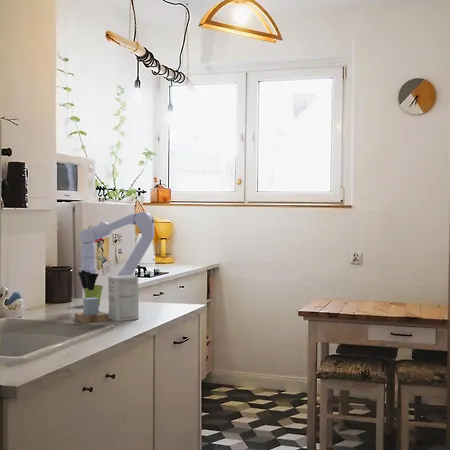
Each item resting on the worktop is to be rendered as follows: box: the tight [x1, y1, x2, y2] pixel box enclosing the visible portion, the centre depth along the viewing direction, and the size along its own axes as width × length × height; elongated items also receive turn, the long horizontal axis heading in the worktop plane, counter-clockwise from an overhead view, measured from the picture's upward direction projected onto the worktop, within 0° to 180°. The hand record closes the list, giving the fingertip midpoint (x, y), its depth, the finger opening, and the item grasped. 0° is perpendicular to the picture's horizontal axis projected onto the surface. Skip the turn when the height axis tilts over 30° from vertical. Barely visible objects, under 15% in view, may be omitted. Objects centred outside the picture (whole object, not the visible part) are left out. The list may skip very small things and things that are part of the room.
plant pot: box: [83, 284, 104, 305], centre depth 287 cm, size 9×9×9 cm
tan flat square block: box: [74, 310, 109, 324], centre depth 244 cm, size 10×10×3 cm
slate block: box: [82, 297, 100, 315], centre depth 244 cm, size 4×4×6 cm
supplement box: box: [107, 275, 140, 322], centre depth 248 cm, size 10×9×17 cm
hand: (88, 289), depth 267 cm, fingers open, 7 cm apart
